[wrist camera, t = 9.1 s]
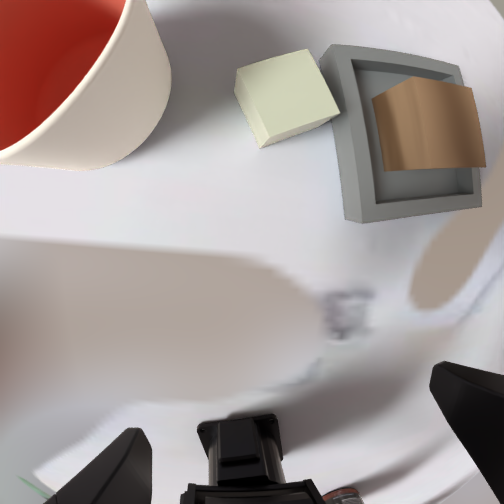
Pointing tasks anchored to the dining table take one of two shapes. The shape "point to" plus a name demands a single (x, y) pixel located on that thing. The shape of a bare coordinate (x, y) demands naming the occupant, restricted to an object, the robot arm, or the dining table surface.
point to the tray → (368, 145)
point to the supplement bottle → (343, 497)
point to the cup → (78, 81)
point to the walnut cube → (428, 126)
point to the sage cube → (283, 97)
